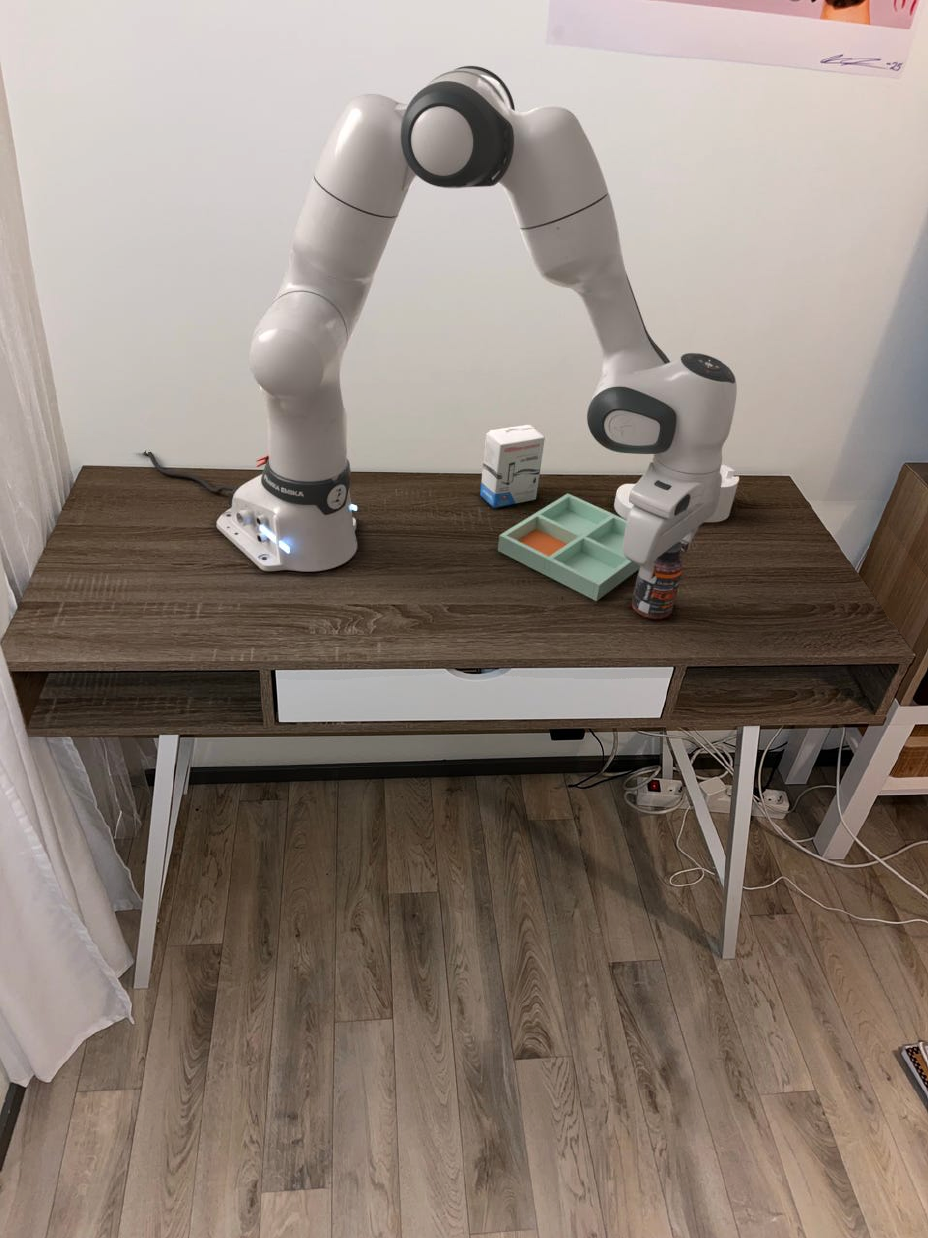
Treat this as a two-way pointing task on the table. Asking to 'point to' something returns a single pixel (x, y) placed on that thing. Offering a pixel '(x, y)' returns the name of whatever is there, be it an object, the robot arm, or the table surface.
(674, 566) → the supplement bottle
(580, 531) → the organiser
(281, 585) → the table surface
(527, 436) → the ink box
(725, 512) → the bracket
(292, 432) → the robot arm
